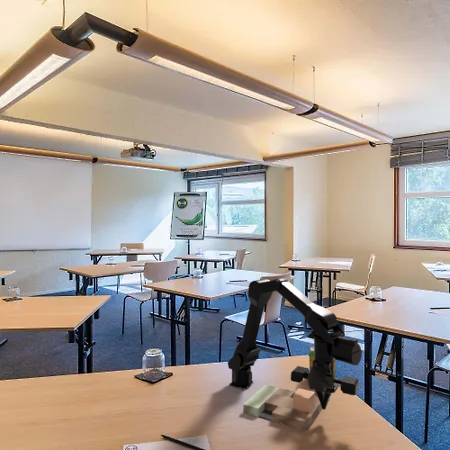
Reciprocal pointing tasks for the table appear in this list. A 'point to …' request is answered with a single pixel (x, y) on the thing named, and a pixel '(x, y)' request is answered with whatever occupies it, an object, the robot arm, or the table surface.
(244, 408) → the trap board
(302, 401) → the terracotta block
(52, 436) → the table surface
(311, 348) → the chalk box
